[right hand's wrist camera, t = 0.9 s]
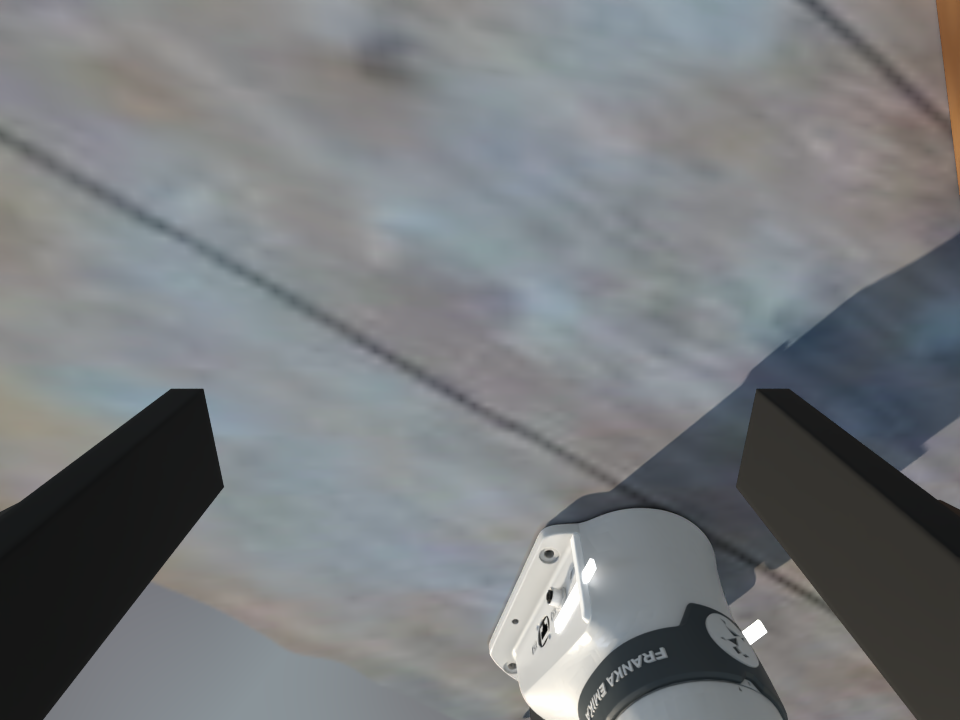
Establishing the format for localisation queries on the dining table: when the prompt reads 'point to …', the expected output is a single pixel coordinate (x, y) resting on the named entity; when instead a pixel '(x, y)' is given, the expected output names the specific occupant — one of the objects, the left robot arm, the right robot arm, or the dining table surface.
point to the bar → (952, 65)
